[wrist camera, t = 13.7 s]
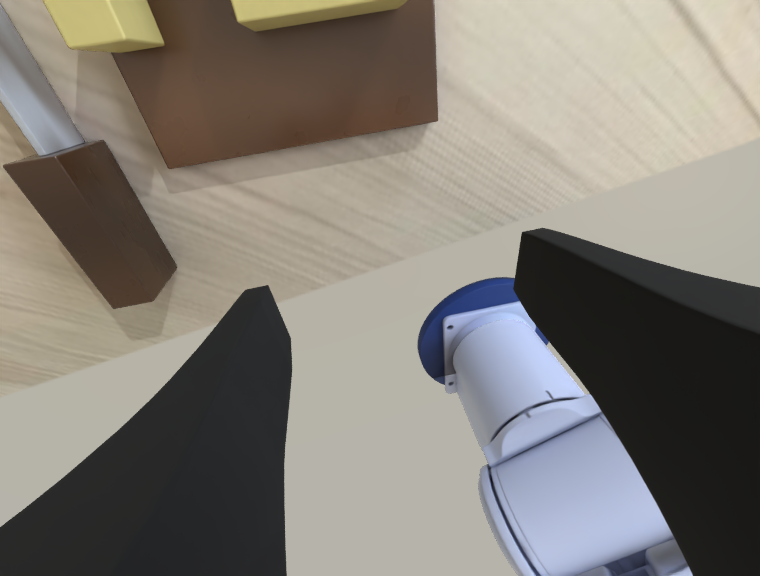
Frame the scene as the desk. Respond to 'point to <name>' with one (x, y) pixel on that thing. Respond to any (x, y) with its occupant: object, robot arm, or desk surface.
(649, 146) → the desk surface
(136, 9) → the butter pat
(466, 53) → the desk surface
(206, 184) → the desk surface
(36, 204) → the knife
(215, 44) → the butter board
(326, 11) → the butter
